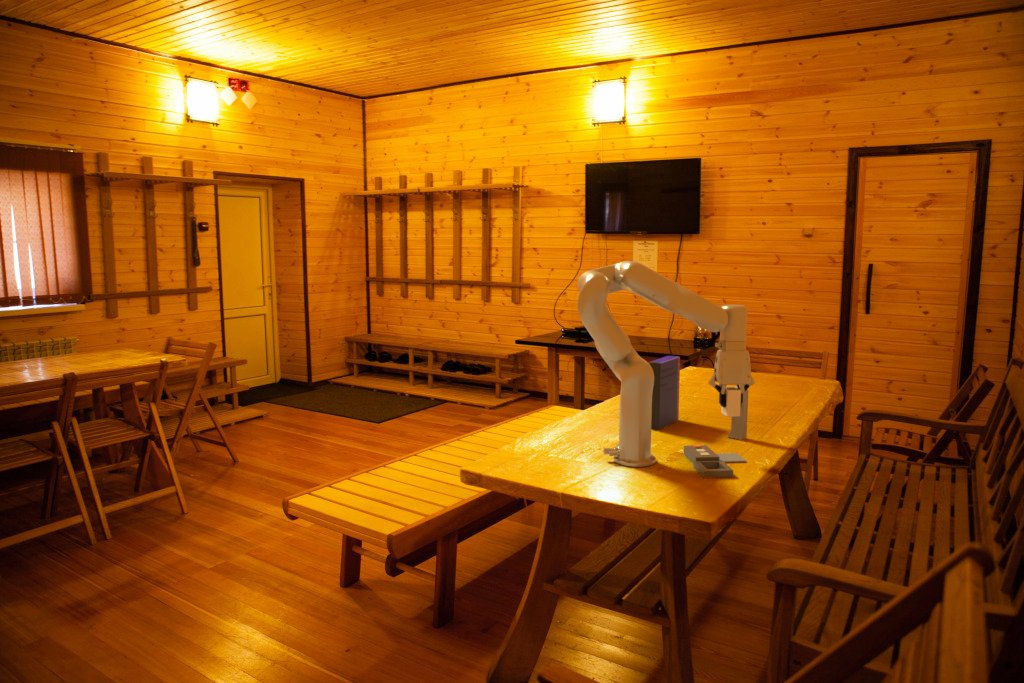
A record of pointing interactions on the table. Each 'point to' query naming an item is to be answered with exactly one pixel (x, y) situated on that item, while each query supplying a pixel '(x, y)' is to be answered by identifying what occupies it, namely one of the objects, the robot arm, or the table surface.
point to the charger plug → (732, 402)
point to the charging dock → (707, 461)
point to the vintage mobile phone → (740, 421)
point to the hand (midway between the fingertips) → (730, 405)
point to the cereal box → (665, 391)
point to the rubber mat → (731, 457)
